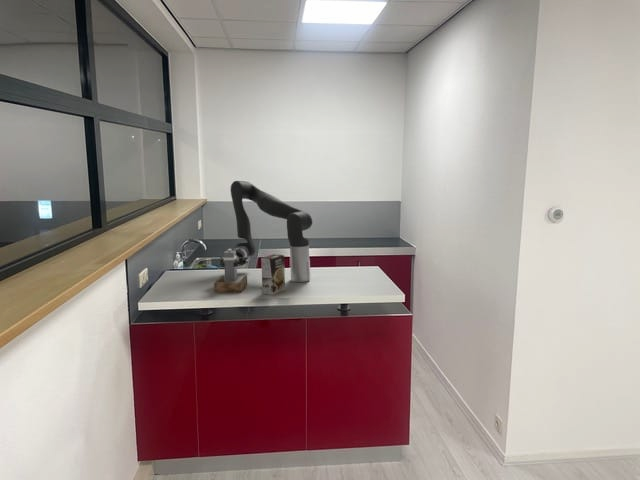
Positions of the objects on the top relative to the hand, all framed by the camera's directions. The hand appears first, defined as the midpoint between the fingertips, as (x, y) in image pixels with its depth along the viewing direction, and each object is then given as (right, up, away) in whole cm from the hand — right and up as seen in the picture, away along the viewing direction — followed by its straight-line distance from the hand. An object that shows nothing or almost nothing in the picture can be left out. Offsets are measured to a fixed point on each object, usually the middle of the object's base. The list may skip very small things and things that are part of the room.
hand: (228, 264), depth 202 cm
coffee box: (+21, -12, -2) cm, 24 cm away
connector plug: (0, -7, +4) cm, 8 cm away
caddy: (+1, -11, +4) cm, 12 cm away
